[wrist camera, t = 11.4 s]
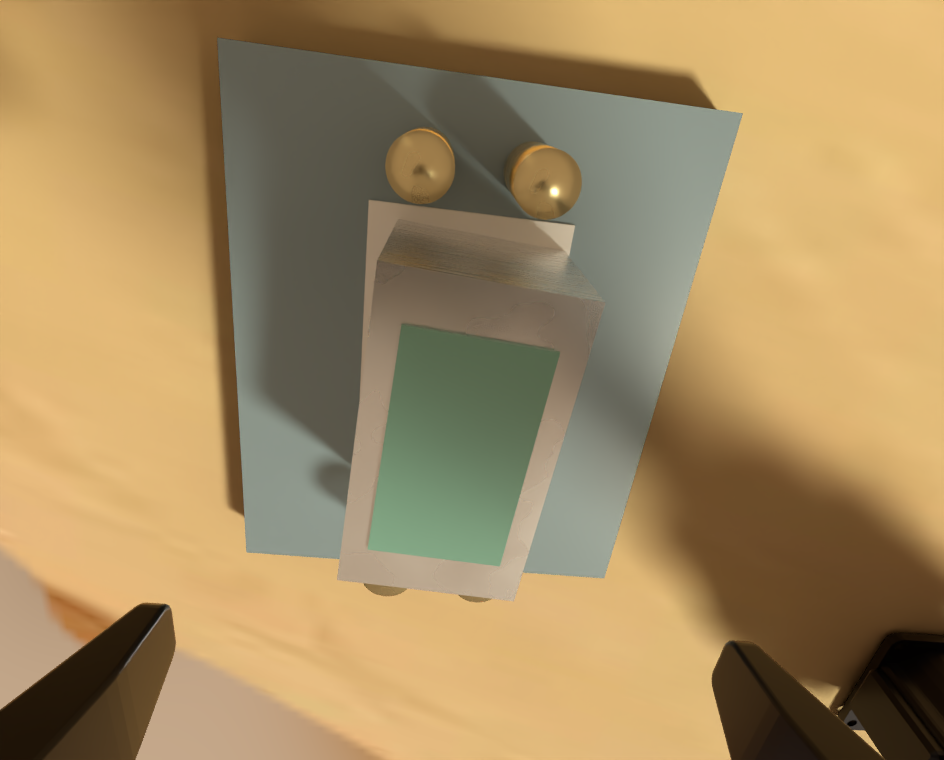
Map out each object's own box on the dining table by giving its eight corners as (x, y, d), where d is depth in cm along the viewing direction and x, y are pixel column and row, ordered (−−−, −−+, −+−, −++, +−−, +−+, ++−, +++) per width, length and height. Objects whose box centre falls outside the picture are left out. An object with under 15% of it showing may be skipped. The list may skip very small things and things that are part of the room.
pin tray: (719, 112, 17) (804, 114, 13) (595, 551, 24) (624, 641, 20) (237, 43, 16) (162, 21, 12) (258, 526, 23) (217, 615, 19)
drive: (564, 251, 17) (606, 303, 12) (500, 493, 21) (514, 604, 16) (397, 218, 16) (376, 261, 12) (363, 474, 20) (336, 582, 16)
